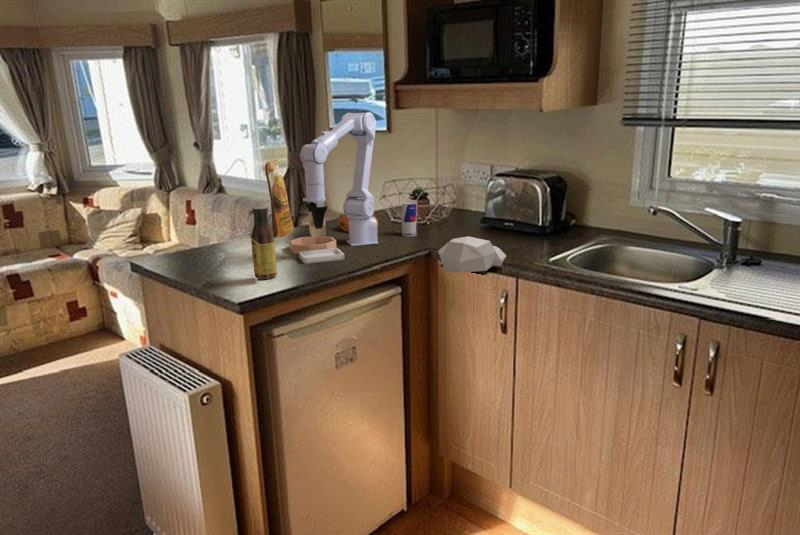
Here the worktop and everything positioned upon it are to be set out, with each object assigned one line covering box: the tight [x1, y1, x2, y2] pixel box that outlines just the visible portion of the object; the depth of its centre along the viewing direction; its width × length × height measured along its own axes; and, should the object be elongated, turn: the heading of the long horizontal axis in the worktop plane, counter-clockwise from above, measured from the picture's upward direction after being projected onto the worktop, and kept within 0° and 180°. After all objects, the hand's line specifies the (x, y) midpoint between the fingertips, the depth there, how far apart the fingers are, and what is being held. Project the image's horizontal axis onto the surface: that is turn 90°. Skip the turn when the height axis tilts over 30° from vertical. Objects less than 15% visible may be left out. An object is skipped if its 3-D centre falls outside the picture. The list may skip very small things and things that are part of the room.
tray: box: [298, 247, 346, 265], centre depth 189 cm, size 13×10×2 cm
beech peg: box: [308, 211, 327, 237], centre depth 190 cm, size 4×4×7 cm
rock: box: [437, 236, 507, 274], centre depth 173 cm, size 18×20×10 cm
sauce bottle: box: [250, 205, 278, 280], centre depth 166 cm, size 6×6×20 cm
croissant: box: [337, 214, 380, 233], centre depth 230 cm, size 14×16×8 cm
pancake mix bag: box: [264, 159, 294, 239], centre depth 223 cm, size 7×19×28 cm, turn 172°
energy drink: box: [401, 201, 418, 238], centre depth 219 cm, size 5×5×12 cm
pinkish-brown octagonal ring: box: [289, 235, 338, 255], centre depth 201 cm, size 15×15×3 cm
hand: (317, 226), depth 190 cm, fingers closed on beech peg, 4 cm apart
